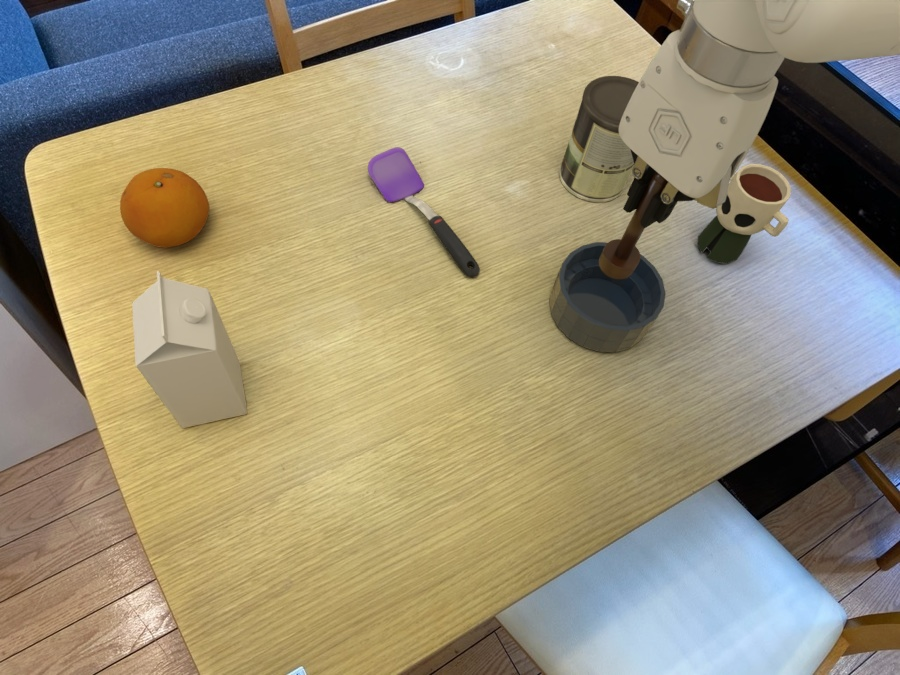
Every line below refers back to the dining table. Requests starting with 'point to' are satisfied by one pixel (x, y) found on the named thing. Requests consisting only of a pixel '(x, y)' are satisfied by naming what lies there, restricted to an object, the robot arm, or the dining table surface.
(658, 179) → the brown wooden pestle
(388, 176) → the spatula
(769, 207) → the character mug
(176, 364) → the milk carton
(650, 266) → the bowl
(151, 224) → the fruit
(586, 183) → the coffee can
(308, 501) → the dining table surface
